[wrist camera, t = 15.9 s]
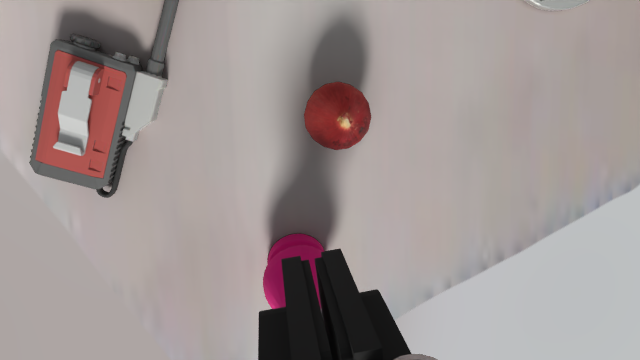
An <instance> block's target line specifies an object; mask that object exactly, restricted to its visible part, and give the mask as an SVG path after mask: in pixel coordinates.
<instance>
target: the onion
mask: <svg viewBox="0 0 640 360" xmlns="http://www.w3.org/2000/svg"><path fill="white" fill-rule="evenodd" d="M304 118H305V126H306V129H307V131H308V132H309V134H310V135H311V137H312V138H313V139H314V140H315V141H316V142H318V143H319V144H321V145H322V146H324V147H327V148H330V149H334V150H339V149H347V148H350V147H351V146H353V145H355V144H356V143H358V142H360V141H361V139H362V138H363V137H364V135H365V134H366V133H367V131H368V129H369V124H370V120H371V113H370V108H369V103H368V102H367V100H366V98H365V97H364V95H363V94H362V92H360V91H359V90H357V89H356V88H354V87H353V86H351V85H349V84H345V83H342V82H334V83H329V84H325V85H323V86H322V87H320V88H319V89H317V90H316V91H314V93H313V94H312V96H311V97H310V99H309V100H308V102H307V106H306V109H305V113H304Z"/></svg>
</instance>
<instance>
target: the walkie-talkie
mask: <svg viewBox="0 0 640 360" xmlns="http://www.w3.org/2000/svg"><path fill="white" fill-rule="evenodd" d="M178 2H179V0H165V2H164V6H163V10H162V15H161V19H160V23H159V27H158V31H157V35H156V39H155V43H154V47H153V52H152V56H151V58H150V59H149V60H148V64H147V68H146V72H145V71H143V70H142V68H141V66H140V63H139V58H137V57H134V56H129V58H128V60H125V59H126V55H125V54H122V53H119V52H115V55H114V56H111V55H108V54H106V53H103V52H100V51H97V50H95V49H98V48H100V43H99V42H97V41H95V40H93V39H90V38H87V37H83V36H80V35H76V34H72V35H71V37H70V39H71V40H72V41H73V42H74V43H73V42H70V41H65V40H57V39H56V40H55V41H53V42H52V43H51V46H50V51H49V56H48V62H47V67H46V73H45V78H44V84H43V89H42V95H41V96H42V100H40V103H41V106H40V107H39V109H40V112H39V113H38V115H39V117H38V119H37V125H36V131H35V137H34V139H33V140H34V143H33V144H32V146H33V149H32V150H31V152H32V155H31V156H30V158H31V160H30V162H29V163H30V165H31V167H32V168H33V170H34V172H35V173H37V174H39V175H43V176H46V177H50V178H54V179H58V180H61V181H65V182H69V183H73V184H77V185H80V186H84V187H88V188H92V189H96V190H97V193H98V194H99V195H100V196H102V197H106V198H108V197H111V196H112V195H113V194H114V193H115V192H116V190H117V187H118V183H119V179H120V175H121V171H122V167H123V163H124V159H125V155H126V151H127V149H128V147H129V146H130V145H131V144H132V143H133V141H135V140H137V137H138V133H139V131H140V130H141V129H143V128H144V127H146V126H147V125H149V124H150V123H152V122H153V121H154V120H156V117H157V114H158V110H159V106H160V102H161V98H162V94H163V91H164V88H166V86H167V82H168V79H165V78H162V72H163V69H164V65H165V64H164V58H165V54H166V50H167V46H168V42H169V38H170V34H171V30H172V26H173V22H174V18H175V14H176V10H177V6H178ZM126 140H127V143H126V144H125V141H126ZM112 181H113V185H112V188H111V191H110V192H106V191H104V190H103V187H104V186H106V185H108V184H109V183H111V182H112Z"/></svg>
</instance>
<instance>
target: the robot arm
mask: <svg viewBox="0 0 640 360" xmlns="http://www.w3.org/2000/svg"><path fill="white" fill-rule="evenodd" d="M524 1H525V2H526V3H528V4H529V5H531V6H533V7H536V8H538V9H541V10H547V11H562V10H566V9H571V8H575V7H578V6H580V5H583V4H585V3H587V2H588V1H590V0H524ZM281 262H282V272H283V282H284V292H285V302H286V307H281V308H275V309H270V310H264V311H260V312H259V348H258V360H437V359H435V358H433V357H430V356H426V355H422V354H411V352H410V350H409V348H408V347H407V344H406V342H405V341H404V338H403V337H402V335H401V333H400V331H399V329H398V327H397V325H396V323H395V321H394V319H393V317H392V315H391V313H390V311H389V309H388V307H387V305H386V303H385V302H384V300H383V298H382V296H381V294H380V292H379V291H378V290H371V291H366V292H361V293H359V291H358V289H357V287H356V284H355V282H354V280H353V277H352V275H351V272H350V270H349V268H348V265H347V263H346V261H345V258H344V256H343V254H342V251H341V249H335V250H330V251H324V252H321V257H319V258H315V267H316V274H317V282H318V289H319V297H320V304H321V309H320V304H319V300H318V296H317V292H316V288H315V283H314V279H313V275H312V271H311V267H310V263H309V259H308V260H302V261H301V257H300V256H295V257H289V258H284V259H281ZM321 312H322V313H321Z"/></svg>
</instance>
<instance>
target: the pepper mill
mask: <svg viewBox="0 0 640 360" xmlns="http://www.w3.org/2000/svg"><path fill="white" fill-rule="evenodd" d="M321 252H324V249H323V247H322V245H321V244H320V243H319V242H318V241H317V240H316V239H315V238H313V237H311V236H308V235H305V234H291V235H288V236H285V237H283V238H281V239H280V240H278V241H277V242H276V243H275V244H274V245H273V247H272V248H271V250H270V252H269V255H268V261H267V262H268V265H267V267H266V270H265V272H264V277H263V287H264V293H265V297H266V299H267V301H268V303H269V305H270V306H271V308H272V309H275V308H281V307H286V302H285V292H284V282H283V272H282V262H281V259H284V258H289V257H295V256H300V257H301V261H302V260H308V259H309V263H310V267H311V271H312V275H313V279H314V283H315V288H316V292H317V296H318V300H319V304H320V297H319V289H318V282H317V274H316V267H315V258H319V257H321ZM320 309H321V304H320ZM321 313H322V312H321Z"/></svg>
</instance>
